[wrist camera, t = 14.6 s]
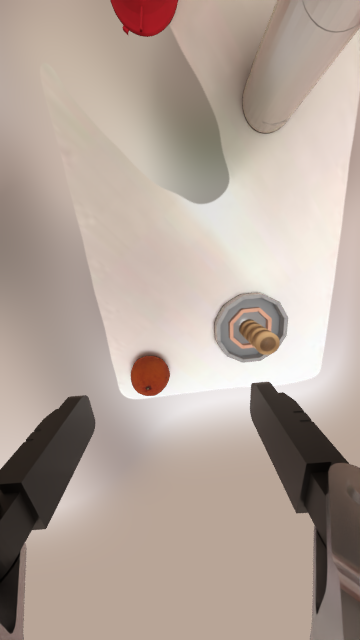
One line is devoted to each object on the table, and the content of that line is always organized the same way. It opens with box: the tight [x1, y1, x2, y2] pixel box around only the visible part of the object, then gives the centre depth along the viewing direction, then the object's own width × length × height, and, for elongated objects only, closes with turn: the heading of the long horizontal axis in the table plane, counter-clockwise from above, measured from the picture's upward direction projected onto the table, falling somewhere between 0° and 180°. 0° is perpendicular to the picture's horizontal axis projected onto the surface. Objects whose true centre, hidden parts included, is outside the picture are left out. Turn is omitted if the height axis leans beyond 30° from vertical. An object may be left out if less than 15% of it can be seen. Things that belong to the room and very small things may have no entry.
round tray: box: [215, 293, 288, 362], centre depth 41 cm, size 16×16×2 cm
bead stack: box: [239, 319, 280, 355], centre depth 37 cm, size 4×4×9 cm
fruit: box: [131, 356, 170, 396], centre depth 41 cm, size 9×9×8 cm
